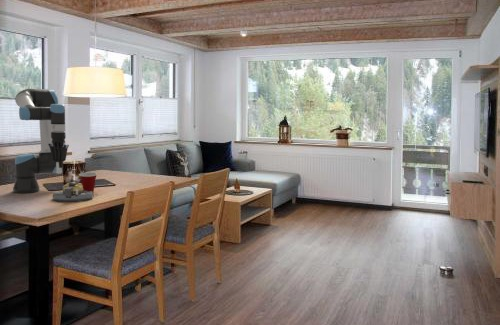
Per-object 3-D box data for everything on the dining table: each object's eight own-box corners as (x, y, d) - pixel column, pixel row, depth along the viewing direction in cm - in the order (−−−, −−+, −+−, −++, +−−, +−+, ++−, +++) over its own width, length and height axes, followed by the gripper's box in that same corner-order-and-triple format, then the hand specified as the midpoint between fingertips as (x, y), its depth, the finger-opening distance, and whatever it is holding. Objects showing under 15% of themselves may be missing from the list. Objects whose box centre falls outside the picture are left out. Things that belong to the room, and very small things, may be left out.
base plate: (56, 195, 282) (55, 184, 281) (94, 194, 288) (94, 183, 287) (49, 202, 261) (49, 191, 260) (91, 201, 266) (91, 190, 266)
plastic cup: (77, 194, 288) (77, 174, 286) (81, 190, 298) (80, 172, 297) (96, 193, 289) (95, 174, 288) (98, 190, 300) (98, 172, 299)
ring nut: (65, 191, 279) (65, 181, 278) (84, 191, 280) (84, 181, 279) (57, 196, 261) (57, 186, 261) (77, 196, 263) (77, 186, 262)
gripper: (44, 131, 261) (45, 173, 264) (62, 132, 256) (63, 175, 259) (54, 130, 267) (55, 171, 271) (72, 132, 262) (73, 173, 266)
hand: (59, 173), depth 265 cm, fingers closed
